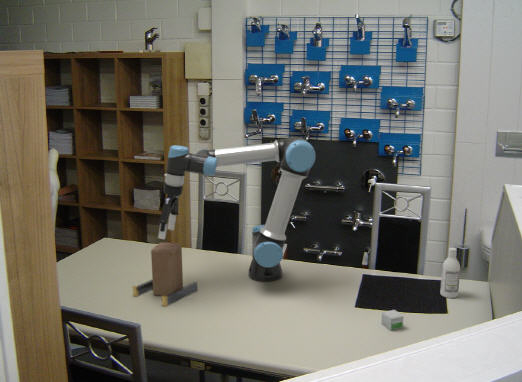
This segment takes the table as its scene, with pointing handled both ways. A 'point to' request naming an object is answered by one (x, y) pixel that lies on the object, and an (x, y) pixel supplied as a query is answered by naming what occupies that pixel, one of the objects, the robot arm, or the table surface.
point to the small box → (392, 320)
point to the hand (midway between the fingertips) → (166, 234)
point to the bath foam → (450, 275)
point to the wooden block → (166, 268)
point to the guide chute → (170, 297)
